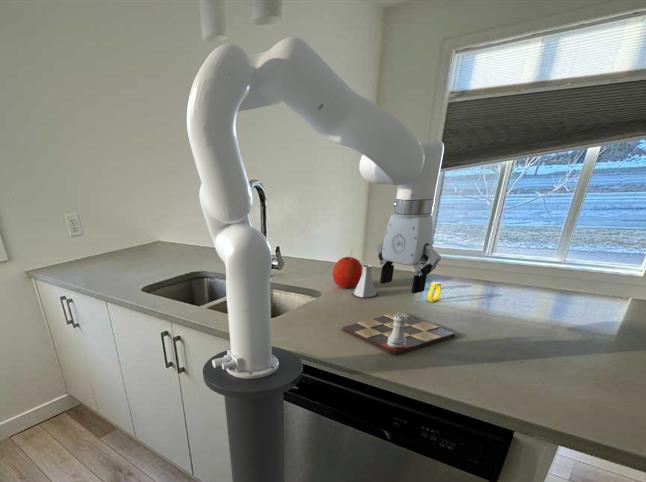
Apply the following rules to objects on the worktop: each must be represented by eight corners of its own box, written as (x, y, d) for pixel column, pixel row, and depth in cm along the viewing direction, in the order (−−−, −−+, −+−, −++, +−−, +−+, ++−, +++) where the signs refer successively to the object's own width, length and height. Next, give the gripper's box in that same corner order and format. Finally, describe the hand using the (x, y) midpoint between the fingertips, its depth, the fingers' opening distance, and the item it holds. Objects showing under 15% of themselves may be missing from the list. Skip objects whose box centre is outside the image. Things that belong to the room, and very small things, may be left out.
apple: (327, 289, 150) (329, 257, 144) (339, 282, 156) (341, 251, 150) (353, 292, 144) (356, 259, 138) (365, 285, 150) (368, 253, 144)
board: (395, 355, 99) (396, 350, 98) (342, 330, 115) (343, 326, 115) (454, 336, 105) (455, 332, 105) (396, 315, 122) (397, 311, 121)
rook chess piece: (407, 348, 99) (412, 318, 95) (388, 348, 100) (392, 318, 96) (403, 341, 103) (408, 311, 99) (385, 341, 104) (389, 311, 100)
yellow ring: (432, 304, 127) (436, 285, 124) (424, 302, 129) (427, 284, 126) (441, 299, 130) (444, 281, 128) (432, 297, 132) (436, 279, 129)
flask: (367, 290, 144) (370, 262, 140) (380, 295, 138) (383, 266, 133) (349, 293, 143) (351, 265, 138) (361, 299, 137) (364, 269, 132)
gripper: (371, 206, 92) (362, 281, 100) (434, 213, 78) (418, 299, 86) (396, 203, 94) (386, 277, 102) (462, 209, 80) (444, 293, 88)
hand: (400, 287), depth 94 cm, fingers open, 9 cm apart
